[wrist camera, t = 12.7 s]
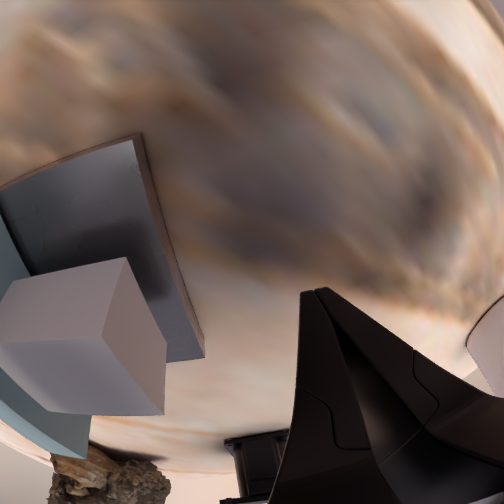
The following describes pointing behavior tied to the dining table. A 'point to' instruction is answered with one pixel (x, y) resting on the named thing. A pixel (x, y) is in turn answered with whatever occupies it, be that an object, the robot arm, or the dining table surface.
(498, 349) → the milk bottle
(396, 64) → the dining table surface
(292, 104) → the dining table surface
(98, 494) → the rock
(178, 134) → the dining table surface
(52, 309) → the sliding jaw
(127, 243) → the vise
